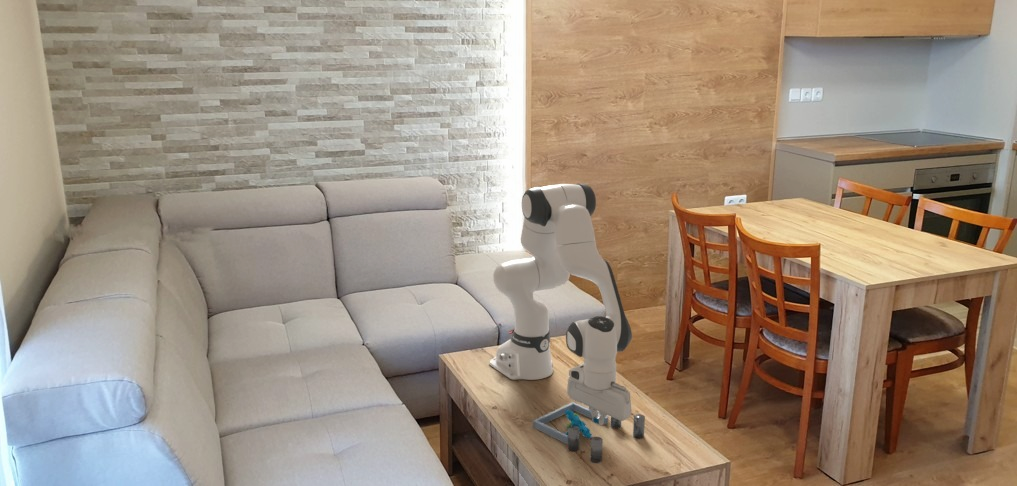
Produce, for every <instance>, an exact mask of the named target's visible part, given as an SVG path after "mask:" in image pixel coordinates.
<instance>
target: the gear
mask: <svg viewBox="0 0 1017 486" xmlns="http://www.w3.org/2000/svg"><path fill="white" fill-rule="evenodd" d="M574 412H575V411H574V410H572V411H570V410H569V409H567V410H566V412H565V414H564V415H566V416H565V417H566V419H567V420H569V421H570V423H569V424H568V425H567V426H566V427H565V428H566V429H567V431H566V432H565V433H564V434H566V435H568V428H569V427H570V426H577V427H579V429H580V430H579V433H581V435H582V436H583V437H584V438H586V439H589V440H591V438H592V433H591V432H590V431H591V430H590V428H588V427H587V426H586V423H585V422H584V421H582V419H581V418H580V417H579V414H577V412H576V413H574Z"/></svg>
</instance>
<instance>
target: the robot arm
mask: <svg viewBox="0 0 1017 486" xmlns="http://www.w3.org/2000/svg"><path fill="white" fill-rule="evenodd" d="M595 193H596V192H595V191H594V190H593V188H592V187H591V186H590V185H589V184H585V183H559V184H552V185H551V184H550V185H544V186H541V187H540V186H535V187H532V188H531V187H530V188H528V189H526V190H525V191H524V193H523V195H522V198H521V211H522V214H523V216H524V219H523V223H522V229H521V235H520V244H521V246H522V248H523V249H524V250H525V251H526V252H527V253H529V254H530V255H532V256H529V257H525V258H524V257H523V258H517V259H510V260H507V261H504V262H501V263H499V264H497V265H496V267H495V269H494V271H493V274H492V280H493V284H494V286H495V288H496V290H497V291H499V293H501V294H503V295H504V296H505V297H506V298H507V299H508V300H509V302H510V303H511V305H512V309H513V318H514V328H513V329H511V330H509V331H508V332H509V333H508V334H509V335H511V337H510V339H508V340H507V341H505V342H503V343H502V344H500V345H499V347H497V350H496V356H494V357H493V358H491V359H490V360H489V363H488V365H489V366H490V367H492V368H493V369H495V370H497V371H498V372H499V373H501V374H502V375H504V376H505V377H506V378H508V379H509V380H514V381H515V380H529V381H530V380H531V381H532V380H534V381H535V380H536V381H537V380H542V379H545V378H547V377H550V376H551V375H552V374H553V373H554V369H553V360H552V356H551V354H552V353H551V347H550V346H551V345H550V341H551V332H550V330H549V327H550V324H549V321H550V319H549V318H550V312H549V309H548V307H547V305H546V304H545V303H544V302H542V301H540V300H537V299H536V298H534V293H535V292H540V291H545V290H546V291H547V290H552V289H553V290H554V289H556V288H558V287H561V286H564V285H566V284H567V283H568V282H569V279H570V276H575V277H577V278H581V279H584V280H588V281H591V282H592V283H594V284H595V285H596V286H597V287H598V289H599V291H600V294H601V299H602V302H603V303H602V304H603V306H604V310H605V313H606V316H599V315H596V316H592V317H590V318H589V319H588V318H587V319H580V320H576V321H573V322H571V323H570V324H569V326H568V327H567V330H566V332H565V343H566V344H565V345H566V347H567V349H568V350H569V351H570V352H572V353H573V354H574V355H576V356H577V357H579V358H583V361H584V363H582V364H579V365H576V366H575V367H572V368H570V369H569V370H568V376H569V377H568V379H567V387H566V388H567V389H566V390H567V393H566V394H567V395H568V397H569V398H570V399H571V400H573V401H576V402H578V403H580V404H581V405H584V406H587V407H588V409H589V411H590V413H591V415H592V418H591V422H592V423H595V424H597V425H599V426H603V425H605V424H604V418H605V417H608V416H609V417H610V418H611V417H613V418H616V419H618V420H620V421H621V422H623V421H627V420H628V419H629V418H630V417H631V416H632V399H631V392H630V391H629V390H628V388H627V387H626V386H624V385H621V384H619V383H617V363H616V358H617V354H618V353H619V352H623V351H625V350H626V349H627V347H629V344H631V341H632V338H633V333H632V328H631V324H630V323H629V320H628V318H627V315H626V313H625V311H624V306H623V302H622V300H621V297H620V293H619V289H618V286H617V285H618V284H617V282H616V281H617V280H616V278H615V275H614V273H613V269H612V267H611V265H610V262H609V261H608V260H605V259H603V257H602V256H601V254H600V252H599V250H598V248H597V247H598V246H597V242H596V235H595V229H594V224H593V222H592V218H591V216H593V214H594V212H595V210H596V206H597V199H596V197H597V196H596V194H595ZM598 413H599V414H600V415H601V416H599V415H598Z"/></svg>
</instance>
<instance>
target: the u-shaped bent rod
mask: <svg viewBox="0 0 1017 486" xmlns="http://www.w3.org/2000/svg"><path fill="white" fill-rule="evenodd" d="M567 409H569V410H570V411H573V412H576V413H579V414H581V415H582V416H583V415H584V416H585V417H587V418H590V419H592V415H591V413H590V411H589V407H586V406H585V405H584V406H583V404H579V403H577V402H574V401H572V402H569V403H567V404H565V405H563V406H561V407H558V408H557V409H555V410H553V411H551V412H548V413H546V414H544V415H542V416H540V417H538V418H536V419H534V420H532V428H534V429H536V430H538V431H540V432H542V433H544V434H545V435H548V436H550V437H552V438H554V439H555V440H558V441H560V442H561V443H563V444H565V445H568V435H566V434H565V433H564V432H562V431H560V430H558V429H555V428H554V427H552V426H550V425H547V423H549V422H551V421H553V420H556V419H557V418H560V417H562V416H564V415H566V414H565V412H566V410H567ZM597 413H598V415H599V416H601V415H600V414H599V412H597ZM608 424H609V417H608V416H606V417H605V418H604V424H603V425H608Z"/></svg>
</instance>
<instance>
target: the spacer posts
mask: <svg viewBox="0 0 1017 486" xmlns="http://www.w3.org/2000/svg"><path fill="white" fill-rule="evenodd" d="M645 421H646V416H645V415H644V414H640V413H639V414H638V413H637V414H634V415H633V426H632V427H633V428H632V429H633V433H632V436H633V438H634V439H636V440H642V439H644V437H645V424H646V422H645ZM610 427H611V429H614V430H615V429H617V430H618V429H621V428H622V421H620V420H618V419H616V418H613V417H611V416H610ZM579 430H580V429H579V427H577V426H570V427H569V428H568V429H567V431H568V444H567V450H568V451H569V452H578V451H580V432H579ZM603 440H604V439H603V438H602V437H600V436H591V438H590V462H592V463H593V464H600V463H602V461H603V443H604V441H603Z"/></svg>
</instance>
